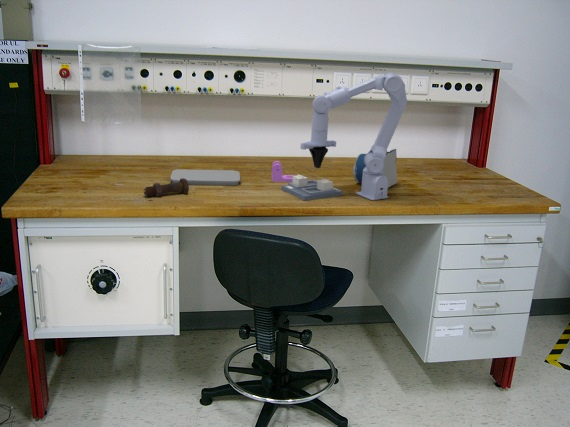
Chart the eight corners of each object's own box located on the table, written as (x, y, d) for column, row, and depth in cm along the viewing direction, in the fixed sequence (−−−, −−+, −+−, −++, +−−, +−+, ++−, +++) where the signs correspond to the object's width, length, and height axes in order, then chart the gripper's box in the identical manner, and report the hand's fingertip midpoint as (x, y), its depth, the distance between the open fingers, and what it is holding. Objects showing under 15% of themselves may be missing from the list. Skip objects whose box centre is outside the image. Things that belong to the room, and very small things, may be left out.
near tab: (332, 190, 205) (333, 180, 204) (323, 191, 203) (324, 181, 202) (325, 187, 209) (326, 177, 207) (316, 188, 206) (317, 178, 205)
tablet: (240, 187, 212) (240, 181, 211) (169, 185, 209) (169, 179, 208) (239, 176, 227) (239, 170, 227) (173, 174, 224) (173, 169, 223)
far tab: (307, 186, 209) (307, 176, 208) (298, 187, 207) (298, 177, 206) (301, 183, 212) (301, 173, 211) (292, 184, 210) (292, 174, 209)
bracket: (271, 181, 221) (272, 164, 218) (271, 178, 226) (272, 160, 224) (305, 182, 221) (306, 165, 219) (304, 179, 227) (305, 162, 224)
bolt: (144, 201, 194) (185, 195, 202) (148, 198, 190) (190, 192, 197) (140, 185, 195) (182, 179, 202) (144, 181, 191) (186, 176, 198)
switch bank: (342, 195, 207) (343, 188, 206) (304, 200, 198) (304, 194, 197) (318, 184, 219) (318, 178, 218) (281, 189, 210) (281, 183, 209)
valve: (398, 183, 225) (397, 145, 221) (381, 191, 213) (380, 151, 209) (367, 182, 232) (366, 145, 229) (350, 189, 220) (349, 150, 217)
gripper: (328, 127, 208) (326, 163, 213) (296, 129, 200) (294, 166, 205) (340, 130, 203) (338, 167, 207) (308, 132, 195) (305, 171, 199)
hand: (317, 167), depth 206 cm, fingers closed
